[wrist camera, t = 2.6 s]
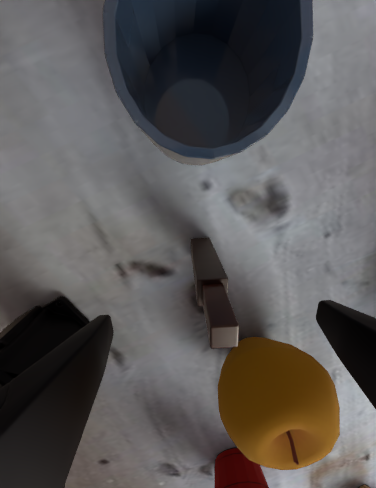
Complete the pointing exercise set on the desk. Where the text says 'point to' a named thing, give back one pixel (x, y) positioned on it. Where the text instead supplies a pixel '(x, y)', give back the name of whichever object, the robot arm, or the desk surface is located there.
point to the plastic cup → (237, 471)
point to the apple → (278, 404)
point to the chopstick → (213, 295)
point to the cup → (207, 69)
